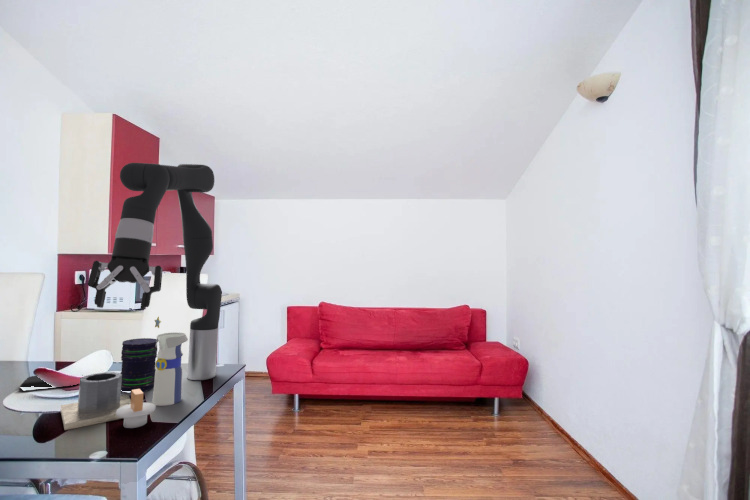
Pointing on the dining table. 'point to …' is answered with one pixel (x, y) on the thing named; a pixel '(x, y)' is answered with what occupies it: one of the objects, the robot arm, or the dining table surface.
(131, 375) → the storage jar
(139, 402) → the white lid with handle
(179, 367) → the white plastic tall bottle
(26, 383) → the carrying case or bag
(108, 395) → the grey container on board
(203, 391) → the dining table surface
